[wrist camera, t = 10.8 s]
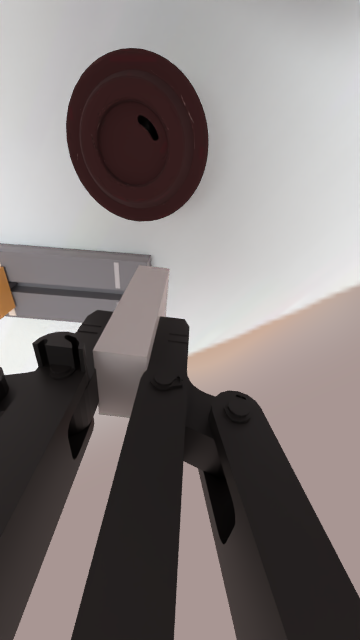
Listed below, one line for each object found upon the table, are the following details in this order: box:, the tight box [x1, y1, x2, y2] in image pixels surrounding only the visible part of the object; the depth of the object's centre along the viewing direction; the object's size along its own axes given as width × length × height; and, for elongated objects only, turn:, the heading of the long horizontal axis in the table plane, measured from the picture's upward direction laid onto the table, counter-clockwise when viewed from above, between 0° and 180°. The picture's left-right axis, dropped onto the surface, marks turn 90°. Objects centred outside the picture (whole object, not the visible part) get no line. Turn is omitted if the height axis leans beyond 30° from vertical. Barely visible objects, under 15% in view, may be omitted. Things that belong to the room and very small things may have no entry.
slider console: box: [0, 244, 151, 323], centre depth 37 cm, size 10×24×3 cm, turn 86°
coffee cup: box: [66, 48, 208, 221], centre depth 23 cm, size 10×10×15 cm
